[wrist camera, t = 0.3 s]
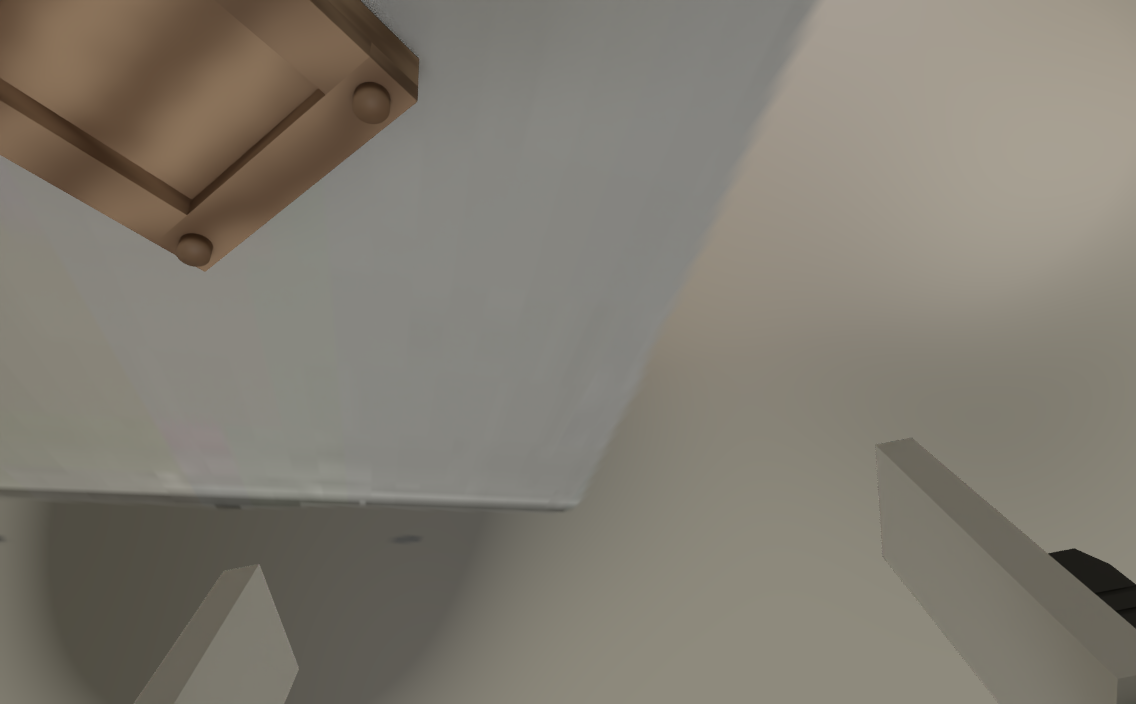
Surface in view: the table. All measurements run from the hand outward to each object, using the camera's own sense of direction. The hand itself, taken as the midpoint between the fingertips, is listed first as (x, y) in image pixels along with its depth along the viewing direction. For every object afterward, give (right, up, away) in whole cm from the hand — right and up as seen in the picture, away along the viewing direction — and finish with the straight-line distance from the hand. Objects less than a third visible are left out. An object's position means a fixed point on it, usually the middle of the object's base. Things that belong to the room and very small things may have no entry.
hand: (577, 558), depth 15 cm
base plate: (-23, +22, +26) cm, 41 cm away
